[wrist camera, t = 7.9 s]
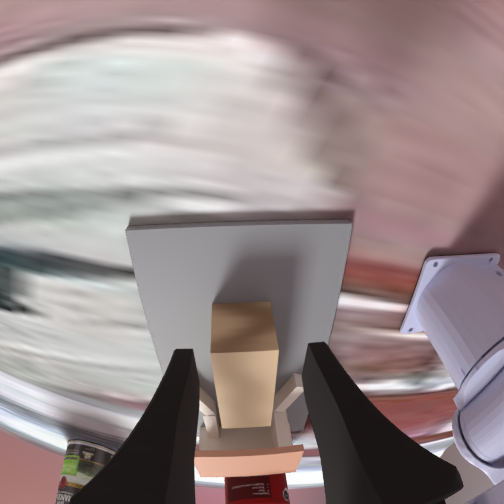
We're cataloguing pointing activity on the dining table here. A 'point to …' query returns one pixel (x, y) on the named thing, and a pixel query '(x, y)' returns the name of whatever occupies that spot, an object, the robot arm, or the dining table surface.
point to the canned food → (257, 489)
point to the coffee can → (80, 467)
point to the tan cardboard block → (244, 362)
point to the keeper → (242, 291)
